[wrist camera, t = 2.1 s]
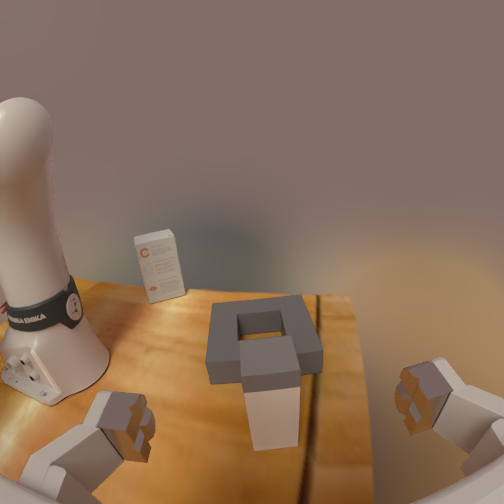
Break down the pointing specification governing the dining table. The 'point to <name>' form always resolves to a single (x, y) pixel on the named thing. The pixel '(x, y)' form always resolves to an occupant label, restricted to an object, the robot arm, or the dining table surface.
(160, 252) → the small box
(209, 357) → the socket block
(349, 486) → the dining table surface
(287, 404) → the plug
